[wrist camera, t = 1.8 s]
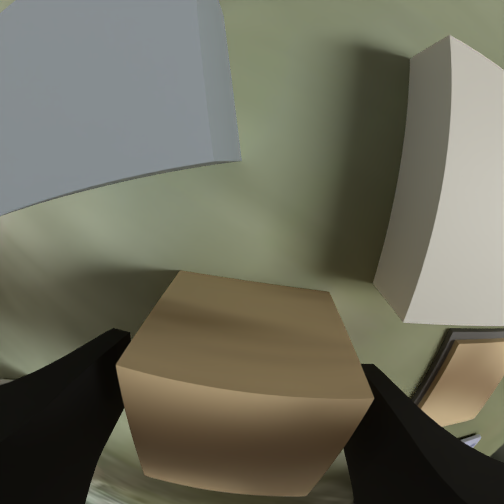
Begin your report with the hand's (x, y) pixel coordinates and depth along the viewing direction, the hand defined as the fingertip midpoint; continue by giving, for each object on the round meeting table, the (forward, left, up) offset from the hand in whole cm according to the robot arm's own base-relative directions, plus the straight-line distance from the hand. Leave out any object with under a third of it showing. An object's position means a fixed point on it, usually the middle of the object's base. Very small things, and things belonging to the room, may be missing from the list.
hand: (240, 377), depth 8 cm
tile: (-2, -12, -2) cm, 12 cm away
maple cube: (0, 0, -2) cm, 2 cm away
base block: (+7, -8, -2) cm, 11 cm away
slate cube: (+8, +4, -2) cm, 9 cm away
